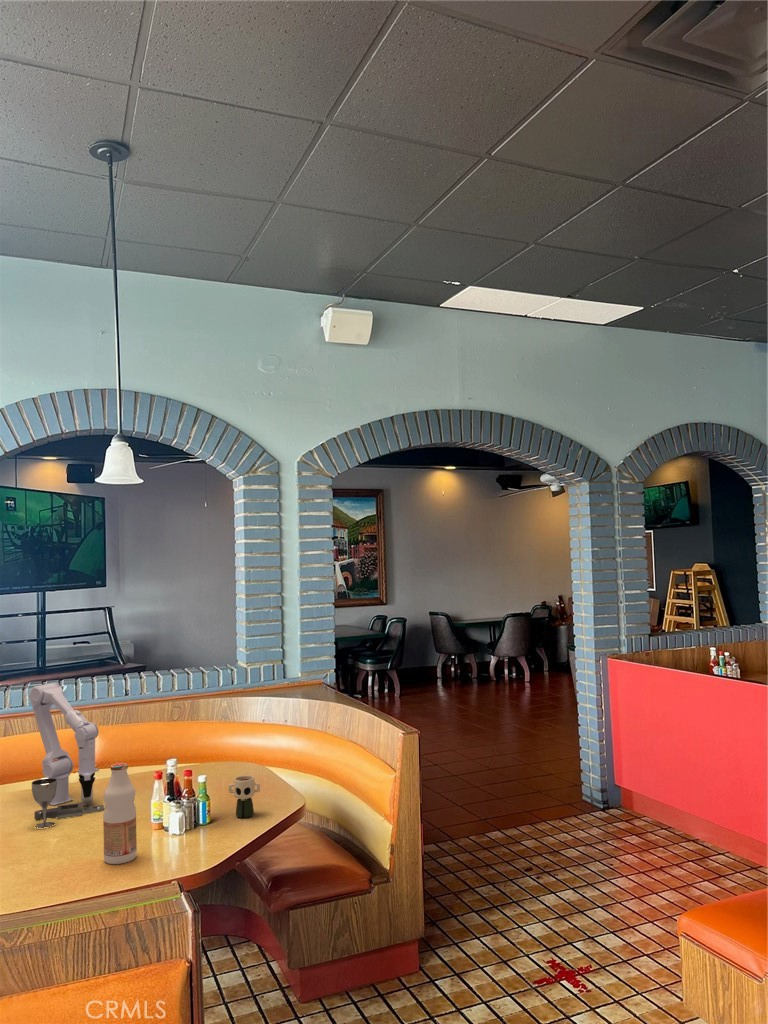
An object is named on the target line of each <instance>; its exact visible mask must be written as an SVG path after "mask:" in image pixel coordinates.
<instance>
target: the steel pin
mask: <svg viewBox="0 0 768 1024" xmlns="http://www.w3.org/2000/svg"><path fill="white" fill-rule="evenodd" d="M90 778H92V777H90ZM80 787H81V788H80V790H81V791H80V793H81V796H80V798H81V801H80V803H82V806H91V805H92V804H93V803H94V785H93V786H92V791H91V796H90V797H86V798H84V795H83V789H82V786H81V785H80Z"/></svg>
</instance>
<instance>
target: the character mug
mask: <svg viewBox="0 0 768 1024" xmlns="http://www.w3.org/2000/svg"><path fill="white" fill-rule="evenodd" d="M232 787H233V790H232ZM255 787H256V789H255ZM260 792H261V784H260V782H255V776H254V775H250V774H249V775H248V774H246V775H243V774H241V775H238V776H234V778H233V783H231V782H230V783H229V784H228V793H229V794H234V798H235V799H237V800H236V806H235V808H236V809H235V816H236V817H237V818H243V816H244V818H249V817H252V816H253V815H254V814H255V812H254V811H255V809H254V803H253V799H252V798H253V797H254V796H255V794H256V793H260Z"/></svg>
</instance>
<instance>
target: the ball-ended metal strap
mask: <svg viewBox="0 0 768 1024" xmlns="http://www.w3.org/2000/svg"><path fill="white" fill-rule="evenodd" d="M82 806H83V805H82V803H81V802H76V803H69V804H59V805H57V807H52V808H47V810H46V820H48V819H47V818H52V819H57V820H62V819H61V818H64V819H68V818H67V817H71V818H74V817H73V816H78V817H82V816H83V815H86V813H87V814H93V812H94V813H98V812H99V813H100V812H102V811H103V812H104V809H105V806H104V805H103V804H96V805H88V806H83V807H82ZM33 812H34V813H33V815H34V817H33V818H34V819H36V820H35V821H41V820H40V819H43V810H42V809H39V810H35V811H33ZM56 817H57V818H56Z"/></svg>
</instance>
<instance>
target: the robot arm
mask: <svg viewBox="0 0 768 1024" xmlns="http://www.w3.org/2000/svg"><path fill="white" fill-rule="evenodd" d="M28 697H29V700H30V704H31V707H32V709H33V714H34V718H35V720H36V725H37V727H38V731H39V734H40V738H41V741H42V744H43V748H44V751H45V756H44V758H43V759H42V760H41V764H42V774H43V776H44V778H56V779H57V789H56V794H55V797H54V798H53V800H52V801H51V802H50V803H49V805H50V806H53V807H54V806H58V805H62V804H64V802H65V803H68V801H69V802H72V801H71V800H73V801H74V799H73V798H72V797H70V796H69V795H70V794H69V788H70V787H69V780H70V779H69V776H71V772H72V771H73V769H74V762H73V760H72V758H71V756H70V754H69V753H68V751H66V750H64V749H62V747H61V743H60V741H59V736H58V733H57V730H56V728H55V723H54V720H53V717H52V714H51V708H52V707H53V706H55V707H56V708H57V709H58V711H60V712H61V713H62V714H63V715H64V716H65V718H64V720H65V723H66V724H67V725H68V726H69V728H71V729H72V731H73V732H74V739H75V740H76V746H77V747H78V770H77V773H78V782H79V783H80V787H81V786H82V789H83V795H84V798H86V797H90V796H91V791H92V786H93V787H94V782H95V780H96V777H95V775H96V772H98V771H99V770H100V769H99V768H98V767H96V738H97V737H98V736H99V728H98V726H97V724H96V723H95V722H91V721H88V719H87V718H86V717H85V716H84V715H83V714H82V712H81V710H79V709H73V707H72V705H71V704H70V703H69V701H68V700H67V698H66V697H65V696H64V694H63V688H62V687H61V685H60V684H59V682H49V683H47V684H41V685H34V686H33V687H32V688H31V690H30V693H29V695H28ZM90 777H92V778H90Z"/></svg>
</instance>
